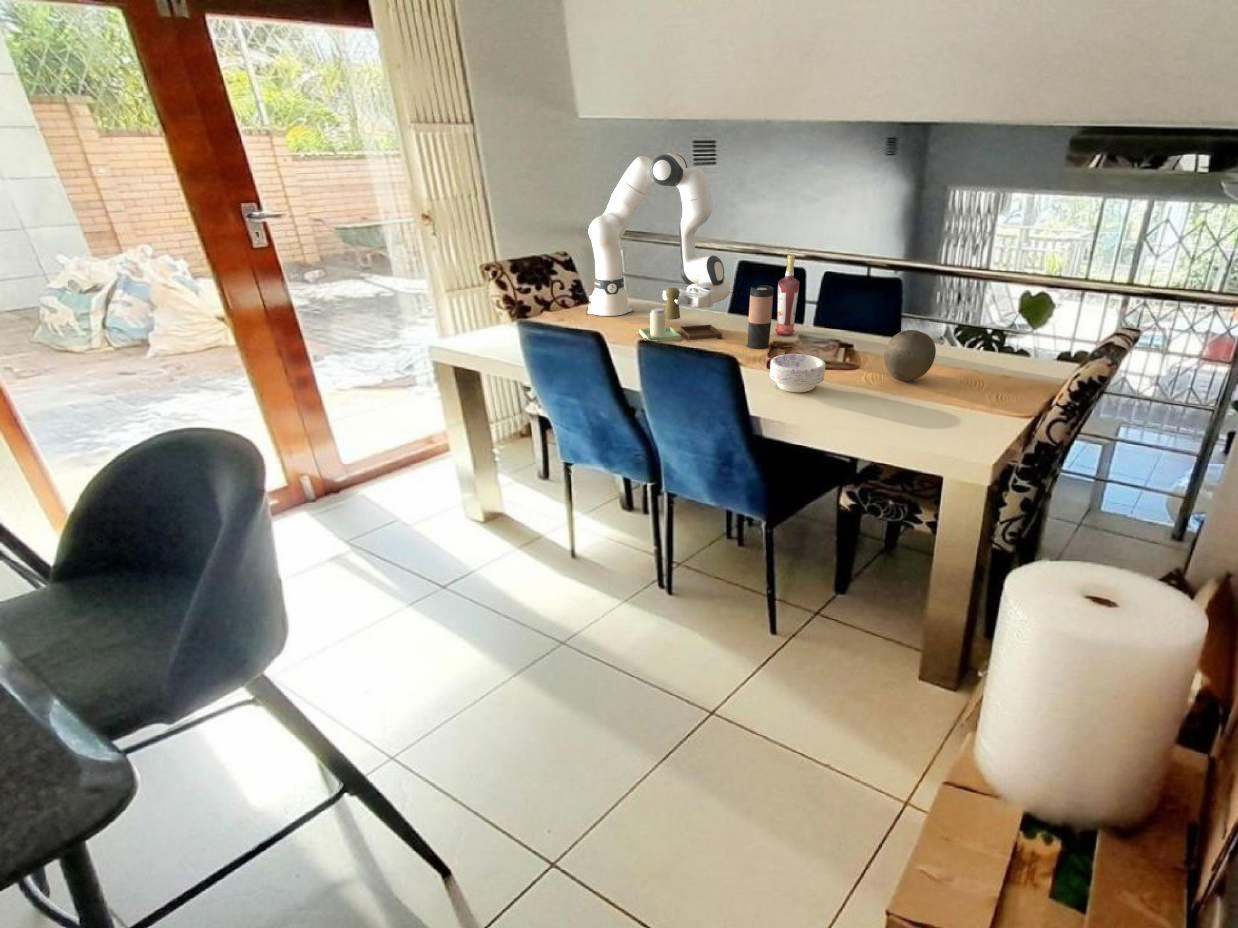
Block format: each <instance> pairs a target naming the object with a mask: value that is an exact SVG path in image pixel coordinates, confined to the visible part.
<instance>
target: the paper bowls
mask: <svg viewBox="0 0 1238 928" xmlns="http://www.w3.org/2000/svg"><path fill="white" fill-rule="evenodd" d="M826 365H827V364H826V362H825V361H824V360H823V359H821V358H820V357H818V356H814V355H809V354H803V353H788V354H787V353H785V354H780V355H777V356H775V357H773V358H771V360H770V367H769V368H770V371H769V378H770V379H771V380H772V381H773V382H775V384H776V385H777V387H778V388H779V389H781V390H783V391H786V392H789V393H806V392H811V391H812V390H814V389H815V387H816V386H817V385H818V384H821V383H822V382H824V381H825V373H826V367H827V366H826Z"/></svg>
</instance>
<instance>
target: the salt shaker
mask: <svg viewBox="0 0 1238 928" xmlns="http://www.w3.org/2000/svg"><path fill="white" fill-rule="evenodd" d="M666 320H667V319H666V312H665V309H664V308H662V307H661V308H660V307H656V308H651V311H649V328H650V337H662V336H665V327H666Z"/></svg>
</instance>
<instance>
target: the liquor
mask: <svg viewBox="0 0 1238 928" xmlns="http://www.w3.org/2000/svg"><path fill="white" fill-rule="evenodd" d="M795 260H796V255H795V254H787V255H786V269H785V276H784V277H783V278H781V279H780V280H778V282H777V283H778V284H777V311H776V312H777V313H776V314H777V315H776V328H775V333H776V334H777V335H778V336H782V337H788V336H791V335H792V334H794V333H795V329H794V327H795V319H796V311H797V303H798V299H799V289H800V281H799V280H798V279H796V277H795V276H794V274H795V272H794V270H795V262H796V261H795Z"/></svg>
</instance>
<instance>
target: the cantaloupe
mask: <svg viewBox="0 0 1238 928" xmlns="http://www.w3.org/2000/svg"><path fill="white" fill-rule="evenodd" d="M886 345H887V346H886V348H885V350H884V353H883V362H884V365H885V368H886V371H887V372H888V373H889V375H890V376H891V377H893V378H894V379H895V380H897V381H901V382H911V381H914V380H917V379H920V378H922V377H924V375H926V374H927V373H928V372H929V371H930V369H931V367H932V366H933V364H934V362H935V359H936V354H937V349H936V345H935V342H934V340H933V338H932V337H931V336H930V335H929V334H927V333H925V332H923V331H920V330H917V329H906V330H901V331H899V332H898V333H896V334H894V335H893V336H892V337H891V339H890V340H888V343H887V344H886ZM910 380H911V381H910Z"/></svg>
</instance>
